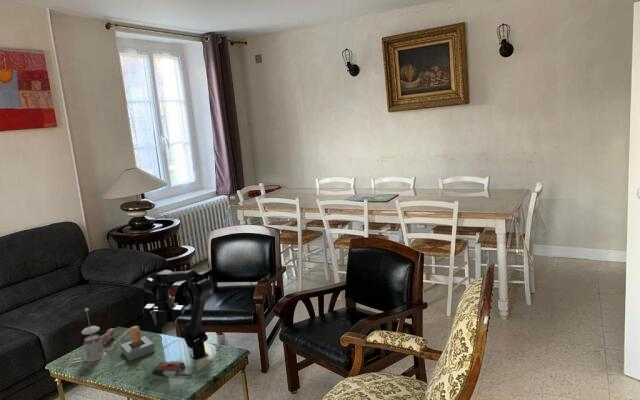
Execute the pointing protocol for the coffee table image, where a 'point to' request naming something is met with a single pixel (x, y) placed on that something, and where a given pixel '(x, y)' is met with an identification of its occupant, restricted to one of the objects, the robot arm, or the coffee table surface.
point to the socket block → (137, 348)
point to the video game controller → (108, 335)
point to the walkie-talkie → (170, 369)
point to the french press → (95, 348)
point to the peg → (135, 336)
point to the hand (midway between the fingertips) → (164, 325)
